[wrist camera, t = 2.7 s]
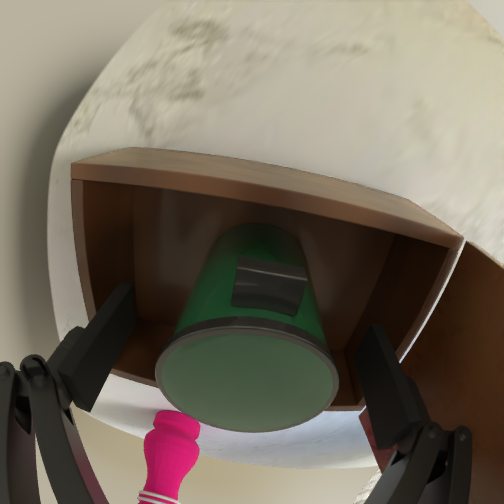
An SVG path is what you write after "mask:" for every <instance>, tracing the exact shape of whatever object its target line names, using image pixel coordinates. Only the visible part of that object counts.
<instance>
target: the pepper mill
mask: <svg viewBox="0 0 504 504" xmlns="http://www.w3.org/2000/svg"><path fill="white" fill-rule="evenodd" d="M153 425H154V427H155V429H153V430H151V431H150V432H148V433H147V434H146V436H145V440H144V454H145V458H146V463H147V468H148V469H147V472H148V473H147V480H146V484H145V487H144V489H143V491H139V497H137V499H138V500H139V501H140V502H139V503H138V504H180V502H179V501H178V490H179V487H180V483H181V482H182V480H183V478H184V477H185V475H186V474H187V473H188V472H189V471H190V470H191V468H192V467H193V466H194V464H195V463H196V461H197V459H198V456H199V447H198V445H197V443H196V442H195V440H196V439H197V438H198V436H199V432H200V425H199V423H198V422H197V421H196V420H195V419H193V418H191V417H189V416H187V415H185V414H183V413H180V412H175V411H160V412H158V413H157V414H156V417H155V420H154V423H153Z"/></svg>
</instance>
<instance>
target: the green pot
mask: <svg viewBox="0 0 504 504" xmlns="http://www.w3.org/2000/svg"><path fill="white" fill-rule="evenodd" d="M155 377H156V381H157V384H158V386H159V389H160V390H161V392H162V393H163V395H164V396H165V397H166V399H167V400H168V401H169V402H170V403H171V404H172V405H173V406H174V407H176V408H177V409H178V410H180V411H181V412H182V413H184V414H186V415H187V416H189V417H191V418H193V419H195V420H197V421H199V422H201V423H204V424H206V425H210V426H213V427H216V428H220V429H224V430H230V431H236V432H249V433H259V432H272V431H278V430H283V429H287V428H291V427H294V426H297V425H300V424H302V423H305V422H307V421H309V420H311V419H313V418H314V417H316V416H317V415H319V414H320V413H322V412H323V411H324V410H325V409H326V408H327V407H328V406H329V405H330V404H331V403H332V402H333V400H334V398H335V397H336V395H337V392H338V390H339V385H340V375H339V370H338V365H337V362H336V359H335V357H334V355H333V354H332V352H331V351H330V349H329V348H328V343H327V339H326V335H325V330H324V326H323V322H322V318H321V313H320V309H319V305H318V301H317V297H316V293H315V290H314V286H313V282H312V278H311V274H310V270H309V267H308V263H307V259H306V256H305V254H304V252H303V250H302V248H301V246H300V245H299V244H298V242H297V241H296V240H295V239H294V238H293V237H292V236H290V235H289V234H288V233H286V232H284V231H283V230H281V229H279V228H276V227H273V226H270V225H266V224H244V225H240V226H236V227H234V228H231V229H229V230H227V231H226V232H224V233H223V234H221V235H220V236H219V237H218V238H217V239H216V240H215V241H214V242H213V243H212V245H211V246H210V248H209V249H208V251H207V253H206V256H205V258H204V260H203V263H202V265H201V267H200V269H199V272H198V274H197V276H196V279H195V281H194V283H193V286H192V288H191V291H190V293H189V295H188V298H187V300H186V302H185V305H184V307H183V310H182V312H181V315H180V317H179V319H178V322H177V324H176V327H175V329H174V332H173V334H172V337H171V338H170V339H168V340H167V342H166V343H165V344H164V346H163V347H162V349H161V352H160V354H159V356H158V359H157V361H156V366H155Z"/></svg>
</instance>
